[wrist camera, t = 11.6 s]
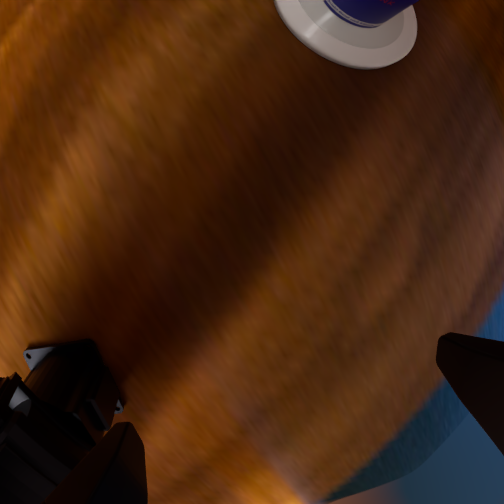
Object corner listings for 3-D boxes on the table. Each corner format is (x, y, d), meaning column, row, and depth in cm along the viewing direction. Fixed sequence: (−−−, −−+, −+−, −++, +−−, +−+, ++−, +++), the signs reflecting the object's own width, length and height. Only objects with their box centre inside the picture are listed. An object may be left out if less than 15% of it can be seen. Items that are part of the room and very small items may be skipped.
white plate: (290, 71, 18) (295, 66, 17) (258, -52, 15) (261, -60, 14) (424, 73, 19) (433, 70, 18) (386, -39, 16) (392, -44, 15)
